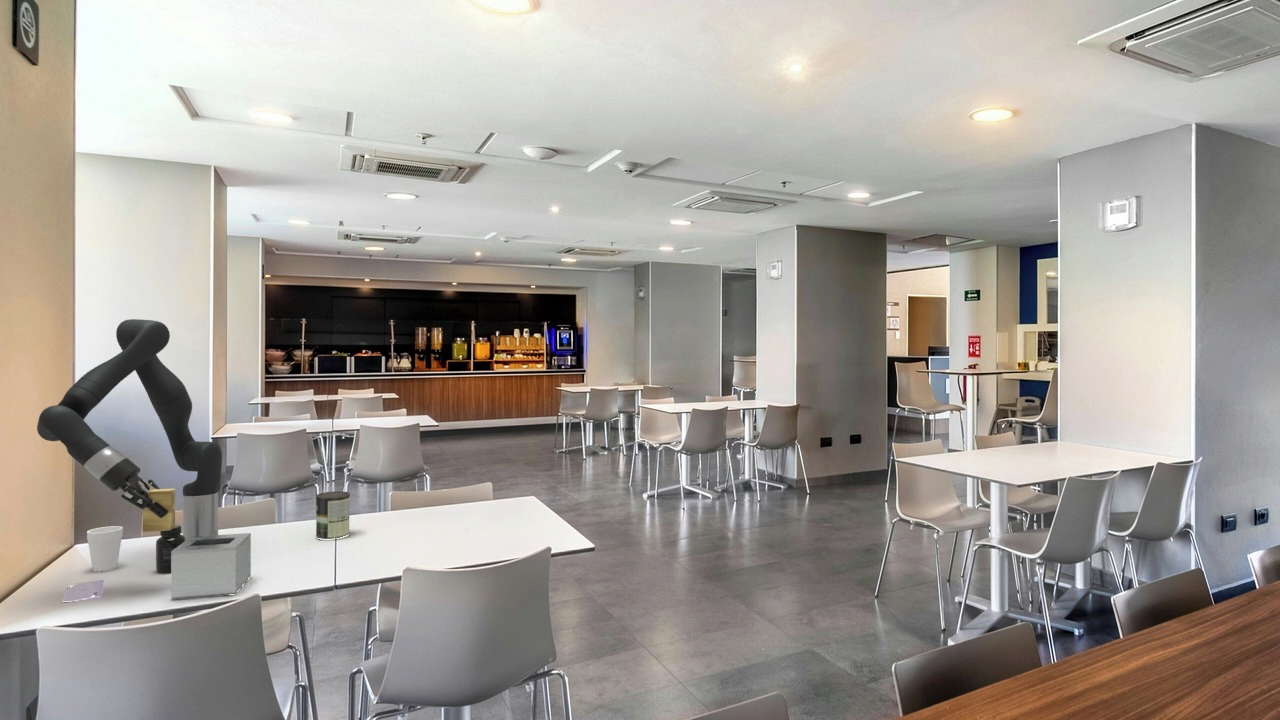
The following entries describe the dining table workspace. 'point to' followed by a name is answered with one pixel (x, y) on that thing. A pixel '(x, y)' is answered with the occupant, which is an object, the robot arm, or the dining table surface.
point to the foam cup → (104, 547)
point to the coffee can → (332, 514)
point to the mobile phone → (84, 591)
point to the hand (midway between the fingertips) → (168, 513)
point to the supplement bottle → (167, 548)
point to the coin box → (210, 566)
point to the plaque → (151, 519)
